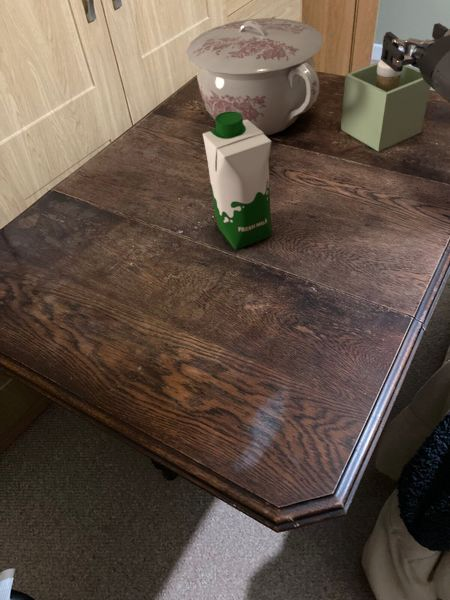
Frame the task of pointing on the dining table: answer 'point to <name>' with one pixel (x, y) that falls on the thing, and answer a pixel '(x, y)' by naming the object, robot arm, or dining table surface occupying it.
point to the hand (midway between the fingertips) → (410, 33)
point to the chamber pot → (258, 70)
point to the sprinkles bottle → (387, 77)
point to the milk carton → (239, 179)
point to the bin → (383, 107)
